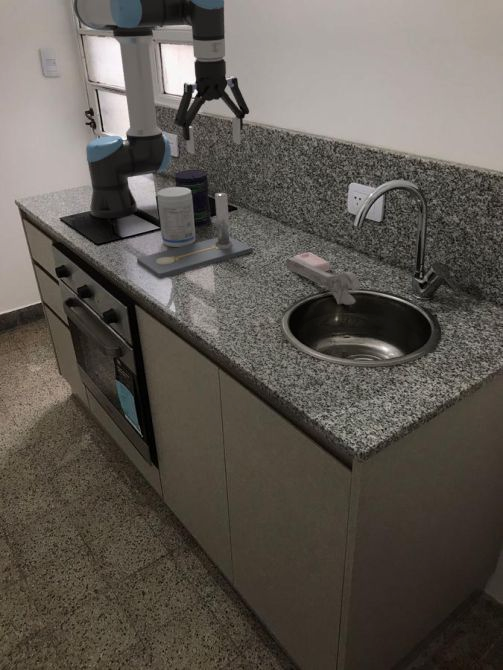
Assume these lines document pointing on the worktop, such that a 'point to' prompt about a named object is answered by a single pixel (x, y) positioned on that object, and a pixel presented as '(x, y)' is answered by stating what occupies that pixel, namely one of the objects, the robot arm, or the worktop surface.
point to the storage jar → (196, 194)
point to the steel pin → (222, 220)
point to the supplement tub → (176, 216)
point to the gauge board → (191, 257)
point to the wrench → (327, 280)
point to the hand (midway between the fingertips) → (214, 147)
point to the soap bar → (314, 261)
